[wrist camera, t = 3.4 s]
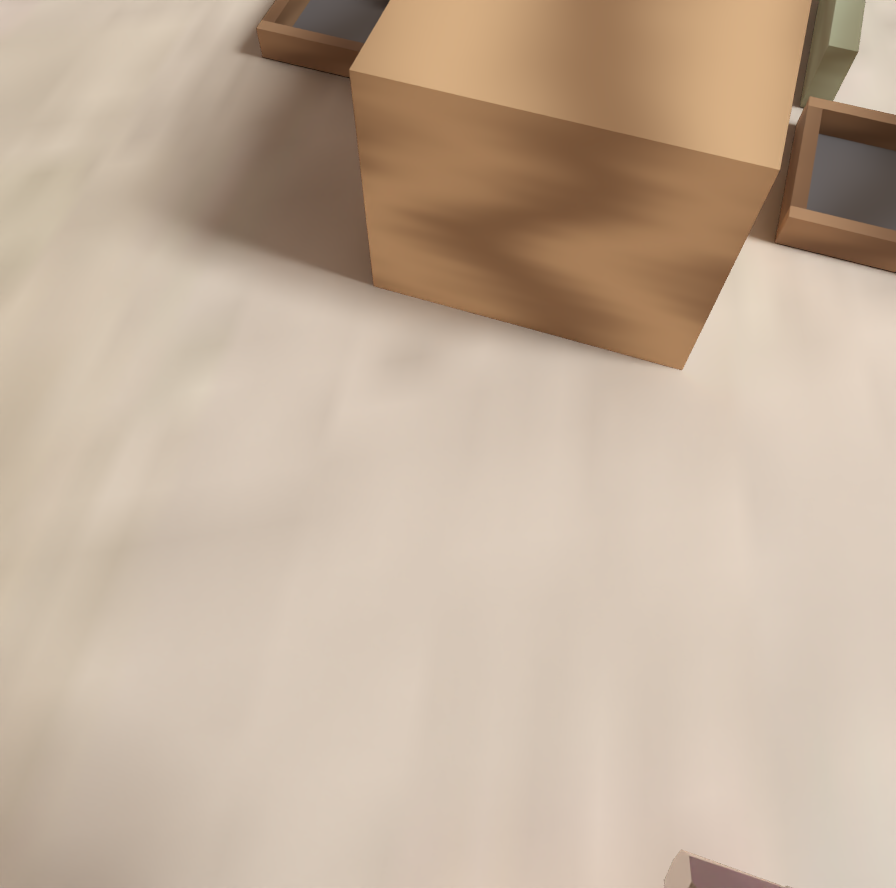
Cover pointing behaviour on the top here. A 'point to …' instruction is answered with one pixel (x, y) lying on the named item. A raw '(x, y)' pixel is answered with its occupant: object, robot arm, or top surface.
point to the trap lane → (814, 146)
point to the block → (573, 157)
